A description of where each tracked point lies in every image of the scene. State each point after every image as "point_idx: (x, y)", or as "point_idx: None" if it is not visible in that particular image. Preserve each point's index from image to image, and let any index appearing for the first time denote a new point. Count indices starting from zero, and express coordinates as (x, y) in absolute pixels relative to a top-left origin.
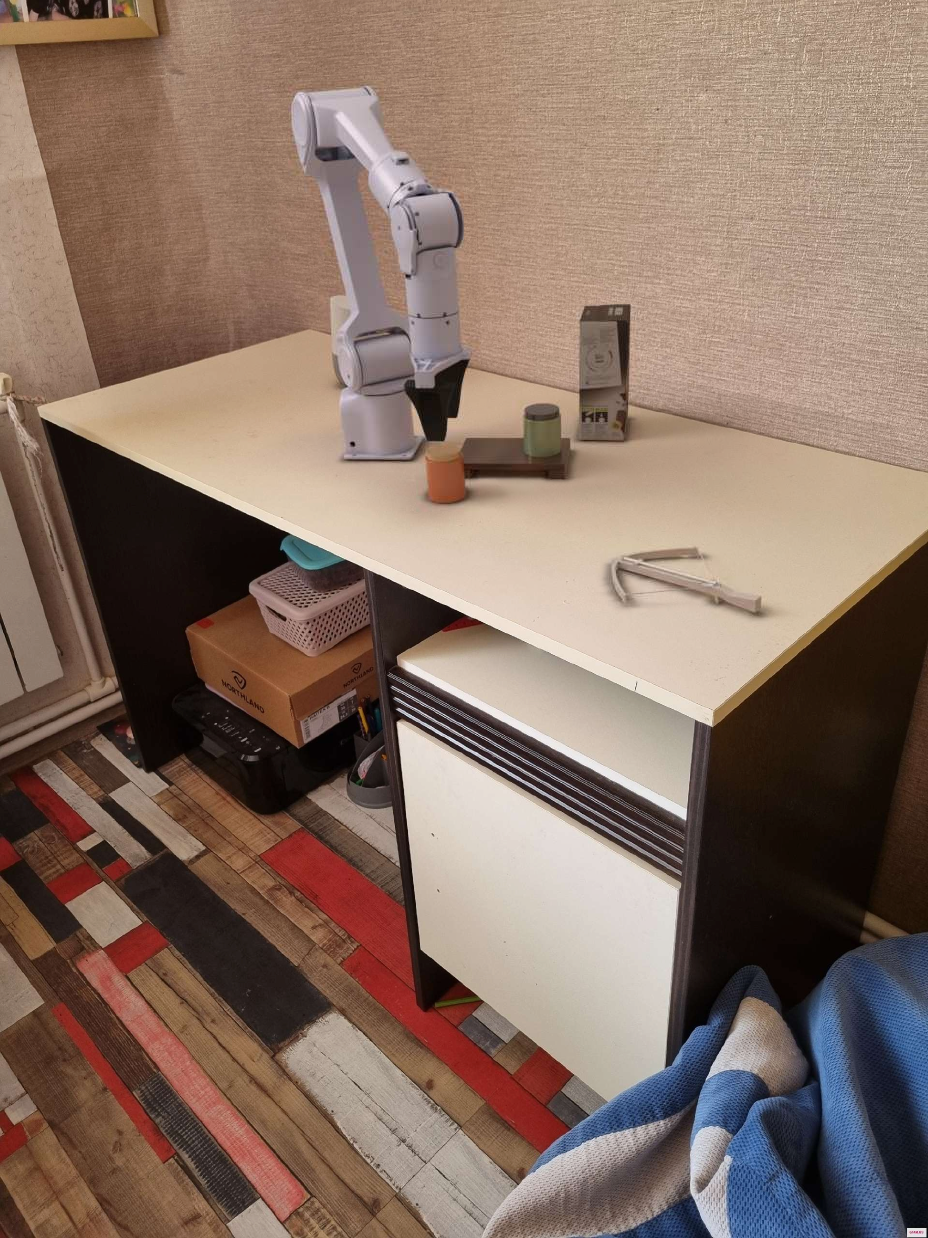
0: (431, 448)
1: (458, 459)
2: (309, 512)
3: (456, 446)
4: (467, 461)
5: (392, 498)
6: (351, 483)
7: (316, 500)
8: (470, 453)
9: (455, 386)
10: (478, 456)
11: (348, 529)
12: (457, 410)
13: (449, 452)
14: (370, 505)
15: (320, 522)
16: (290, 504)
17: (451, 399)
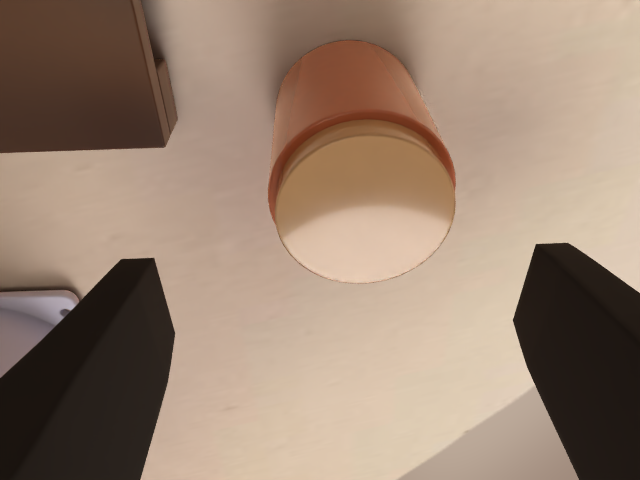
0: (349, 268)
1: (416, 121)
2: (446, 400)
3: (320, 165)
4: (130, 94)
5: None
6: (272, 373)
7: (379, 405)
8: (34, 100)
9: (65, 455)
10: (54, 54)
11: None
12: (137, 285)
13: (407, 182)
14: (415, 304)
15: (506, 371)
16: (399, 436)
17: (119, 377)
